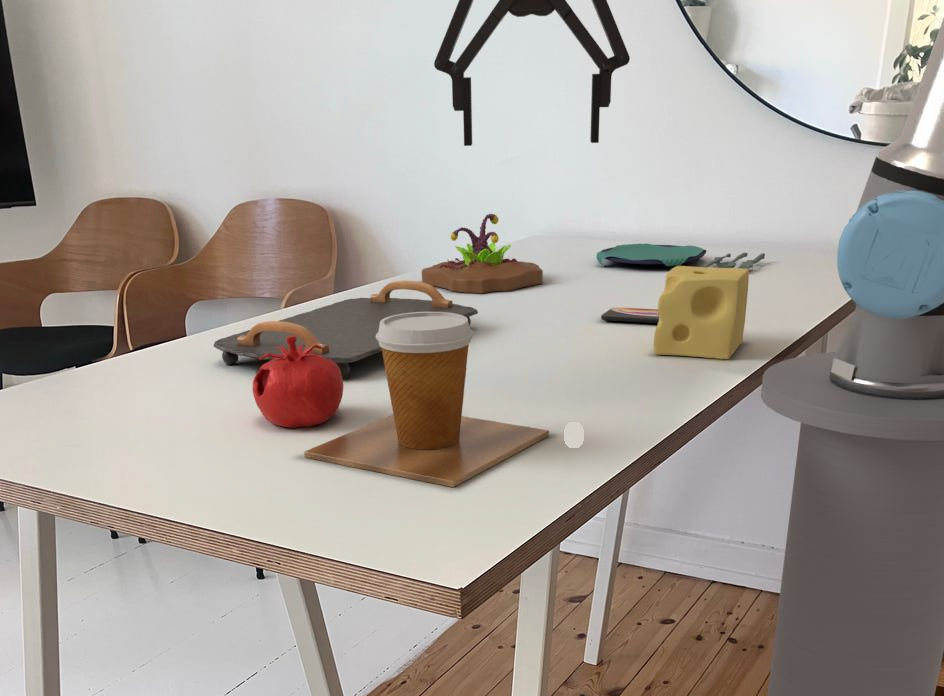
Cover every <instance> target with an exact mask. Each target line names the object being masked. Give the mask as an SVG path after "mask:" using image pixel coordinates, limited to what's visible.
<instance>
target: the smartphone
mask: <svg viewBox="0 0 944 696" xmlns="http://www.w3.org/2000/svg"><path fill="white" fill-rule="evenodd" d="M600 318H601V320H603V321H607V322H609V321H610V322H612V321H613V322H626V323H627V322H629V323H644V324H645V323H648V324H658V322H659V315H658V308H655V309H654V308H638V307H611V308H610V309H608V310H607V311H605V312H604V313H603V314H601V316H600Z"/></svg>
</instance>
